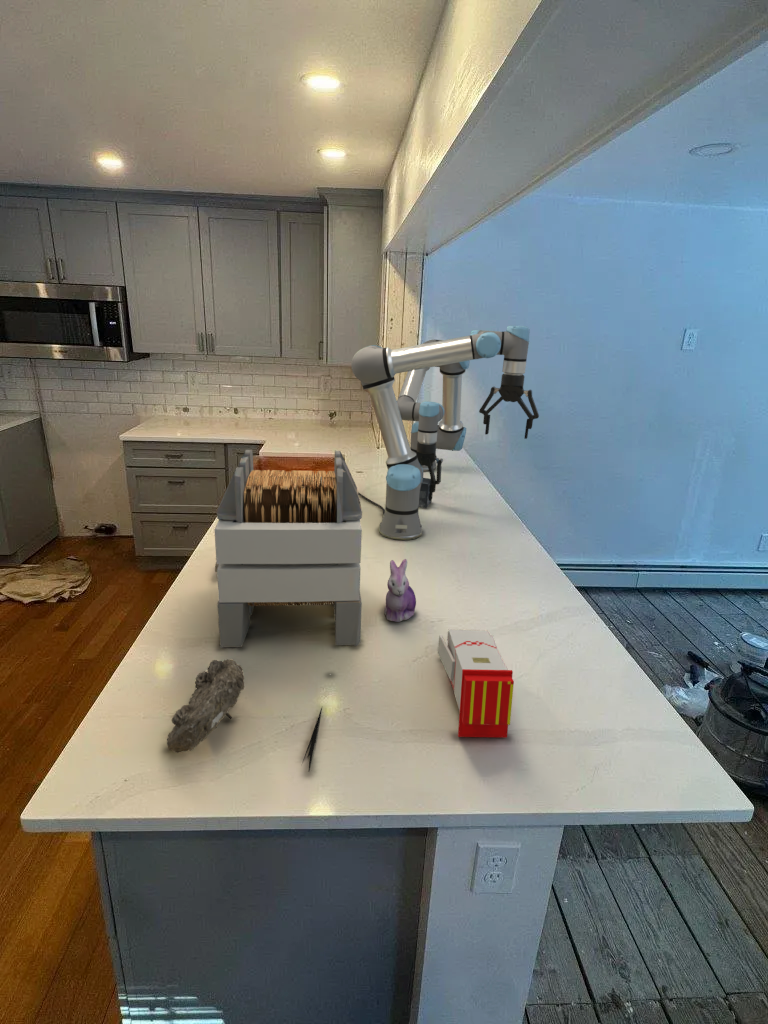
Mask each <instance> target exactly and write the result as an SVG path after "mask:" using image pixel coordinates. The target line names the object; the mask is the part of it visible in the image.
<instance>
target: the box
mask: <svg viewBox="0 0 768 1024" xmlns="http://www.w3.org/2000/svg"><path fill="white" fill-rule="evenodd" d="M431 483H432V482H431V478H429V477H423V481H422V483H421V487H420V494H419V508H418V509H425V510H426V509H427V508H428V507H429V506H430V505H431V504H432V501H433V499H432V500H431V501H429V491H430V484H431Z"/></svg>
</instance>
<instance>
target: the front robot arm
mask: <svg viewBox="0 0 768 1024" xmlns="http://www.w3.org/2000/svg"><path fill="white" fill-rule="evenodd" d="M530 329H531V328H529V327H528V326H526V325H508V326H507V327H506V330H505V331H498V330H483V329H477V330H475V329H473V330H472V331H470V334H469V335H466V336H465V335H464V336H459V337H454V338H448V339H441V340H442V341H437V342H432V343H426V344H423V343H421V344H416V345H411V346H405V347H400V348H393V349H392V348H390V347H389V346H388V347H382V346H380V345H376V344H372V345H367V346H364V347H363V348H361V349H359V350H358V351H356V352H355V354H354V355H353V357H352V358H351V359H352V360H351V362H350V363H351V372H352V374H353V376H354V377H355V378H356V379H357V380H358V381H359V382H360V383H361V385H362V390H363V391H365V392H366V393H368V395H369V399H370V401H371V405H372V409H373V412H374V414H375V417H376V420H377V421H376V422H377V425H378V428H379V431H380V435H381V438H382V442H383V445H384V447H385V451H386V454H387V459H386V461H385V465H386V468H387V471H386V475H385V482H386V486H385V487H386V488H385V504H384V505H385V507H383V506H382V505H380V504H378V503H376V502H375V501H373V500H371V498H370V499H369V498H368V497H366V496H365V495H363V494H362V493H360V492H359V491H358V495H359V497H361V498H362V499H364V500H366V501H368V502H370V503H371V504H373V505H375V506H376V507H378V508H380V509H381V511H382V519H381V522H379V527H378V533H379V534H380V535H381V536H382V537H385V538H387V539H389V540H395V541H410V540H415V539H418V538H420V537H421V536H422V535H423V525H422V524H421V518H420V515H419V509H420V508H419V494H420V487H421V483H422V481H423V478H424V471H423V469H422V467H421V465H420V464H419V461H418V458H417V455H416V453H415V452H413V451H412V450H411V449H410V448H411V444H410V443H409V438H408V435H407V432H406V429H405V425H404V422H403V421H404V420H402V418H401V415H400V411H399V408H398V404H397V398H396V395H395V391H394V387H393V384H394V383H395V381H396V378H395V375H397V374H402V373H408V371H413V370H418V369H424V368H430V369H431V368H436V367H435V366H441V365H446V364H452V363H457V362H463V361H468V360H470V361H473V360H481V359H491V358H494V357H496V356H503V363H502V371H501V372H502V373H503V374H501V380H500V387H496V386H494V385H493V386H491V388H490V391H489V394H488V395H487V397H486V398H485V400H484V402H483V404H482V405H481V406H480V409H479V410H478V413H479V414H482V415H483V422H482V423H483V425H485V429H484V430H485V432H484V434H485V435H488V434H489V432H490V423H491V414H490V413H491V412H492V411H493V410H494V409H495V408H496V407H497V406H498V405H499V404H501V402H502V401H504V402H507V403H508V402H511V403H518V405H519V406H520V407H521V409H522V410H523V412H524V413H525V415H526V416H527V419H526V423H525V429H524V430H525V431H524V440H527V439H528V435H529V430H532V428H533V425H534V424H533V423H534V420H536V419H539V417H540V414H539V410H538V408H537V405H536V402H535V400H534V397H533V390H532V389H524V385H525V377H526V376H525V375H524V374H525V373H526V368H527V359H528V352H529V345H530V335H531V334H530V333H531V330H530ZM497 393H499V395H500V397H499V398H498V399H497V400H496V401H494V403H493V404H491V406H490V407H489V408H487V406H488V405H489V403H490V402H491V400H492V399H493V397H494V395H496V394H497ZM524 395H525V397H526V398H527V400H528V403H529V406H530V407H531V411H532V412H531V411H530V409H529V408H528V406H527V404H526V403H525V402H524V400H523V398H522V397H523V396H524ZM486 408H487V409H486ZM485 409H486V410H485ZM384 508H385V509H384Z"/></svg>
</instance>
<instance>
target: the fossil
mask: <svg viewBox="0 0 768 1024" xmlns="http://www.w3.org/2000/svg"><path fill="white" fill-rule="evenodd" d="M243 670H244V669H243V667H242V665H240V664H237V662H236V661H235V660H234V659H232V658H231V659H227V658H226V659H224V660H223V661H222V660H217V659H212V660H211V661H210V663H209V665H208V666H207V671H201V672H199V673H198V674H197V675H196V676H195V680H194V684H195V685H194V687H195V689H194V690H193V693H192V694H191V697H190V698H189V700H188V704H184V705H182V706H181V707H180V709H177V710H176V711H175V713H174V715H173V716H172V718H171V723H172V724H173V727H172V730H171V731H170V732H168V734H167V738H166V741H167V742H166V745H167V749H168V750H169V751H173V752H174V753H176V754H178V753H182V752H188V751H189V752H192V751H193V750H195V748H196V747H197V746H199V744H200V743H201V742H203V741H204V740H205V739H206V738H207V737H208V736H209V735H210V734H211V733H212V732H214V730H215V729H217V727H218V726H219V724H220V722H221V721H222V720H223V719H224V718H225V716H226V717H227V719H229V720H233V717H232V715H230V714H229V710H230V709H231V708H234V706H235V704H236V703H237V702H238V699H239V697H240V695H241V693H242V691H243V690H245V689H244V688H245V675H244V671H243Z"/></svg>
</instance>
